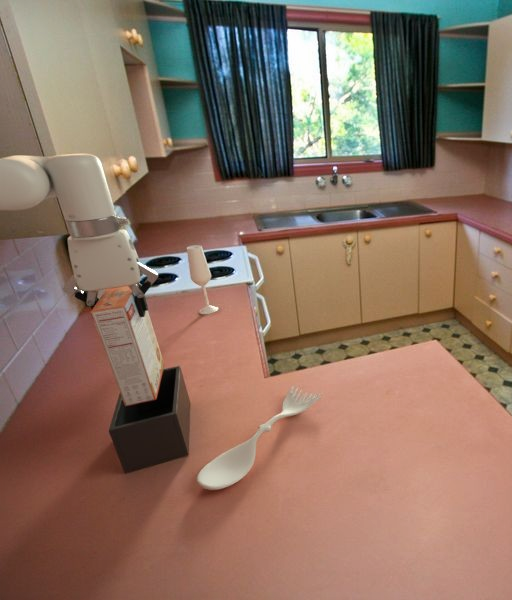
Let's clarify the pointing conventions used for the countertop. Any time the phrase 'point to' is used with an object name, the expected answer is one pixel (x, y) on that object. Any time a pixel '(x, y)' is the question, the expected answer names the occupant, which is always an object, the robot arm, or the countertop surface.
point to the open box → (153, 425)
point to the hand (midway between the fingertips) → (123, 317)
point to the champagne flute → (200, 273)
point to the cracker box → (129, 345)
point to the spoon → (248, 447)
